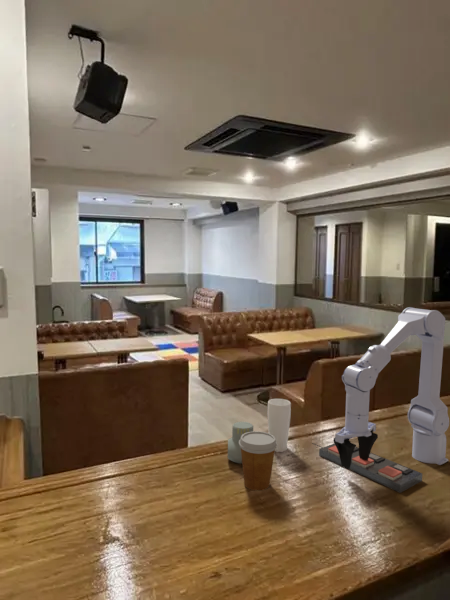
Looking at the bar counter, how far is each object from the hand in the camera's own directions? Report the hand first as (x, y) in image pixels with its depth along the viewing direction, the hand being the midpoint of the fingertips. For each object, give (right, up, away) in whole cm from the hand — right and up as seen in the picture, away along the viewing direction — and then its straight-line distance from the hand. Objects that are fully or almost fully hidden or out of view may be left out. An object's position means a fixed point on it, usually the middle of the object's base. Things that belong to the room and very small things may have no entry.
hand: (354, 463), depth 113 cm
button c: (+8, -3, -4) cm, 9 cm away
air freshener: (-29, -3, +10) cm, 31 cm away
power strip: (+2, -3, +7) cm, 8 cm away
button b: (+3, -3, +2) cm, 4 cm away
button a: (-2, -2, +9) cm, 9 cm away
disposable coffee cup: (-26, -4, -4) cm, 27 cm away
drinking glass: (-18, -3, +15) cm, 24 cm away
